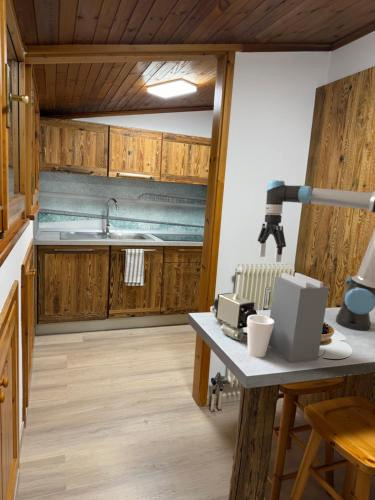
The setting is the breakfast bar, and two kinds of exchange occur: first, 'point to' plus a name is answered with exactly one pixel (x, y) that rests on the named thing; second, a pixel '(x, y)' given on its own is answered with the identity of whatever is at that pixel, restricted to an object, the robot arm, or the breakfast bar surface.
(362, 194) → the robot arm
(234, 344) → the breakfast bar surface
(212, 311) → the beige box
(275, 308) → the charcoal stand
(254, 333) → the foam cup
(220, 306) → the ball valve
